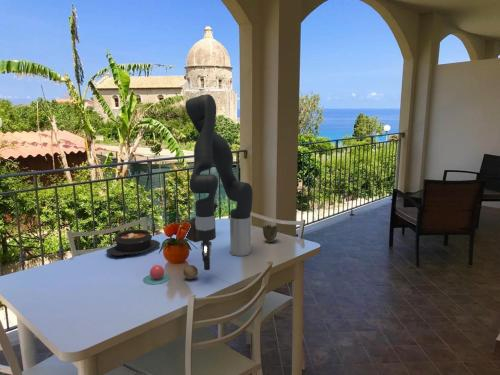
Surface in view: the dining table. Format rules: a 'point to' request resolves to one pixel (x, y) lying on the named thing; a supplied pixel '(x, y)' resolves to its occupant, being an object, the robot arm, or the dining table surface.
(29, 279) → the dining table surface
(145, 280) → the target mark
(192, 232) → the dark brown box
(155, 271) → the object ball
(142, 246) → the casserole
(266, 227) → the cup
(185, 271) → the brown ball
